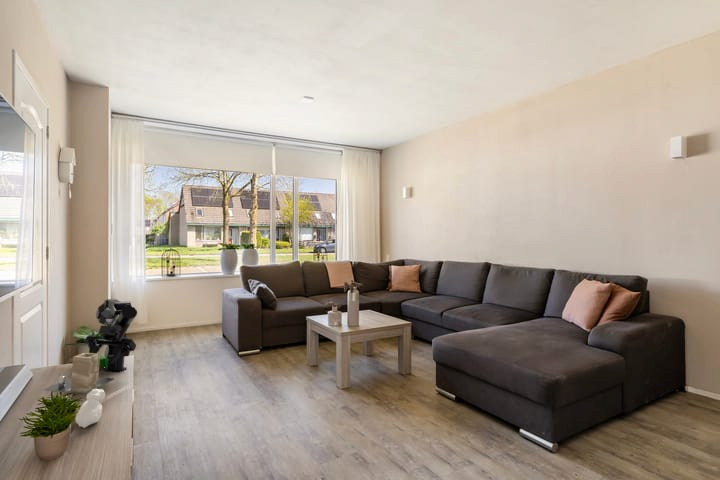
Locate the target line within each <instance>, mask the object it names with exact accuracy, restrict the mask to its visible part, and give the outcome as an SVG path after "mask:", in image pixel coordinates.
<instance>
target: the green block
mask: <svg viewBox="0 0 720 480" xmlns="http://www.w3.org/2000/svg"><path fill="white" fill-rule="evenodd" d="M107 365H108V359H106V357H105V356H101V355H100V363H99V369H100V370H102V369H101V368H103V369H106V368H107ZM104 367H105V368H104Z"/></svg>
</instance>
